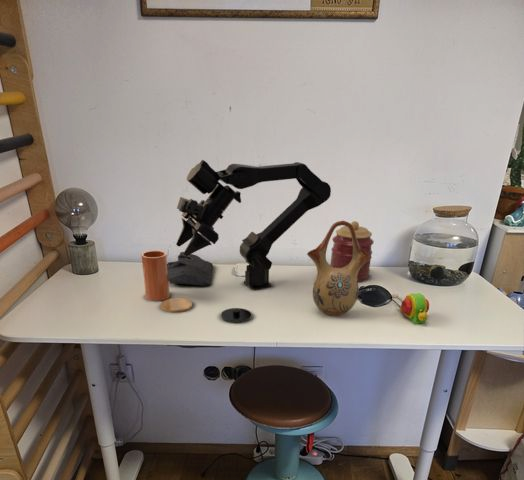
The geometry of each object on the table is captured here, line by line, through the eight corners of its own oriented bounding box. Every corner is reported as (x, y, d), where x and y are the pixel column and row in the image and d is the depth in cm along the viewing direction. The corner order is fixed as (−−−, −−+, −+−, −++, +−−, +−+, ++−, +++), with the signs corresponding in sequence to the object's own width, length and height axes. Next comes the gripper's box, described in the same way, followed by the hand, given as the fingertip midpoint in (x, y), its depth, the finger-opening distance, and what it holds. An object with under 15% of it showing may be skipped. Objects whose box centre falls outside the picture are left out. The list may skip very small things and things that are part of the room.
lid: (241, 308, 128) (241, 302, 128) (257, 319, 123) (257, 312, 122) (215, 314, 125) (215, 307, 124) (230, 325, 119) (230, 319, 118)
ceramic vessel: (302, 318, 123) (309, 223, 111) (303, 305, 131) (309, 215, 119) (365, 322, 122) (379, 226, 110) (361, 308, 130) (374, 217, 118)
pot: (164, 290, 138) (161, 249, 132) (173, 298, 133) (169, 255, 127) (142, 294, 135) (138, 252, 129) (150, 302, 130) (146, 259, 124)
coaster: (184, 298, 134) (184, 296, 133) (197, 308, 128) (196, 306, 127) (156, 303, 130) (156, 301, 129) (168, 314, 124) (167, 312, 123)
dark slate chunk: (160, 287, 140) (159, 272, 138) (168, 264, 159) (167, 250, 157) (211, 287, 141) (211, 272, 139) (213, 264, 160) (213, 250, 158)
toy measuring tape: (411, 327, 120) (416, 303, 117) (382, 298, 137) (386, 276, 134) (434, 326, 121) (439, 302, 118) (403, 297, 138) (407, 276, 135)
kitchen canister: (375, 281, 150) (383, 225, 141) (337, 283, 147) (343, 227, 138) (359, 268, 161) (365, 216, 152) (323, 270, 158) (328, 217, 149)
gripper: (184, 180, 131) (151, 224, 133) (202, 192, 116) (164, 242, 118) (214, 205, 137) (182, 247, 139) (234, 219, 122) (198, 266, 124)
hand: (181, 250), depth 130 cm, fingers open, 9 cm apart
